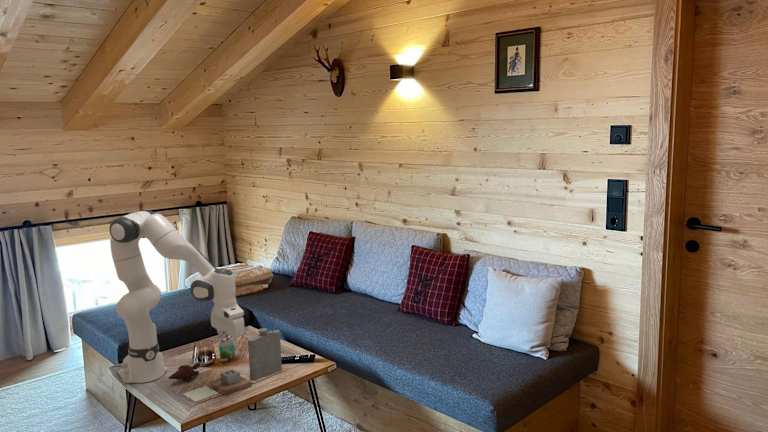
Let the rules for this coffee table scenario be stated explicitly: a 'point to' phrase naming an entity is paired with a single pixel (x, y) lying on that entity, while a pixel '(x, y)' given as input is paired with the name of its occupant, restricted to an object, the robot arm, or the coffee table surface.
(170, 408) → the coffee table surface
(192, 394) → the pad
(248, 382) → the peg stand
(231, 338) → the food container
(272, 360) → the hip flask
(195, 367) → the icecream
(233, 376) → the collar
